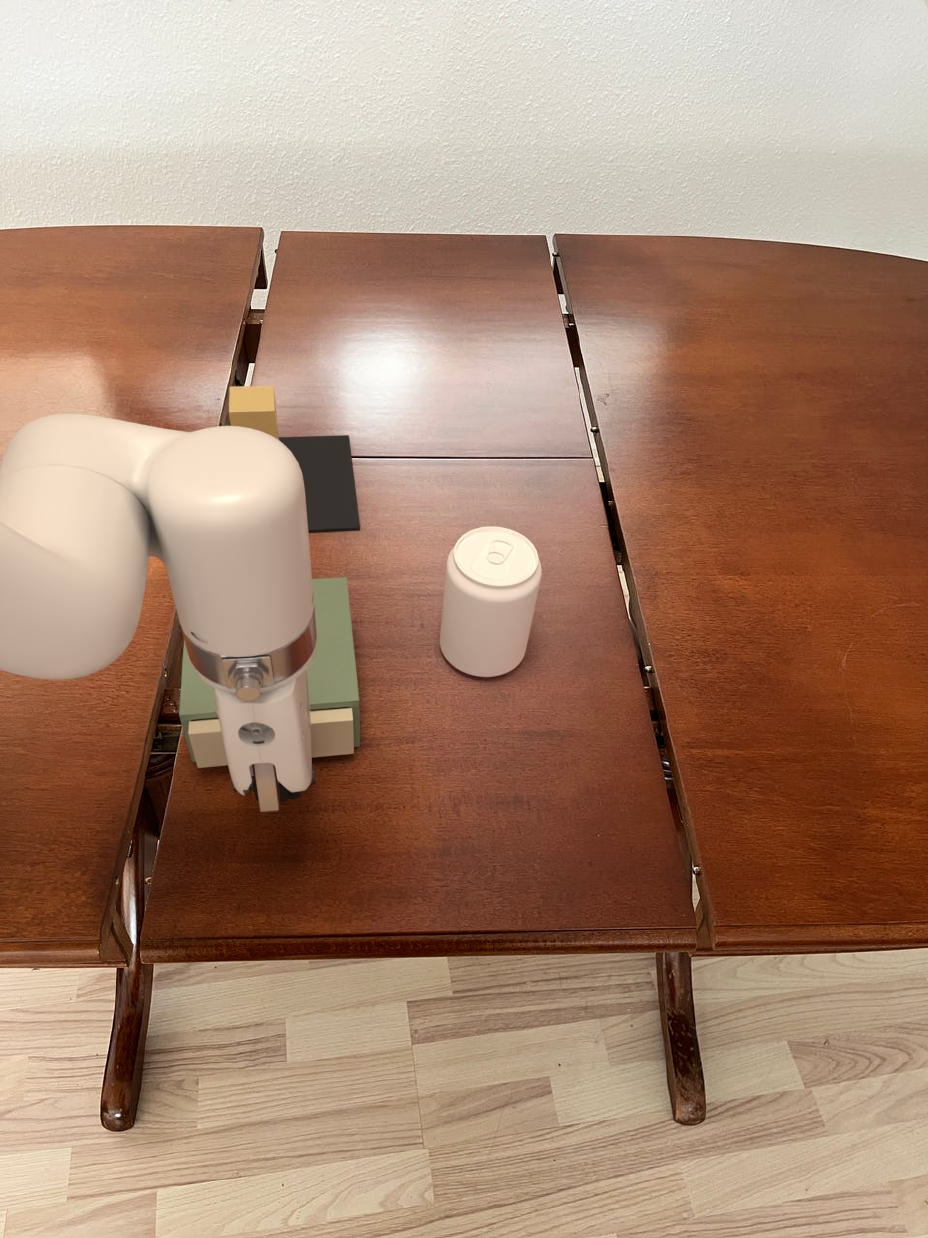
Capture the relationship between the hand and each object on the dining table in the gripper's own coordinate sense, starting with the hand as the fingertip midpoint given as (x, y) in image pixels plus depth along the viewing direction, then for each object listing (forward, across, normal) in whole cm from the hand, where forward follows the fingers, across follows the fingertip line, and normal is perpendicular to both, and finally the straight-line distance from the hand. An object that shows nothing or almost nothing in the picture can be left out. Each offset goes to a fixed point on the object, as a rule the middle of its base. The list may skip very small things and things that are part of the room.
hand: (278, 790), depth 64 cm
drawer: (+4, +9, +1) cm, 10 cm away
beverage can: (+5, +16, -18) cm, 25 cm away
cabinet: (+4, +13, +1) cm, 14 cm away
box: (+4, +41, +2) cm, 41 cm away
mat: (+4, +41, +2) cm, 41 cm away
